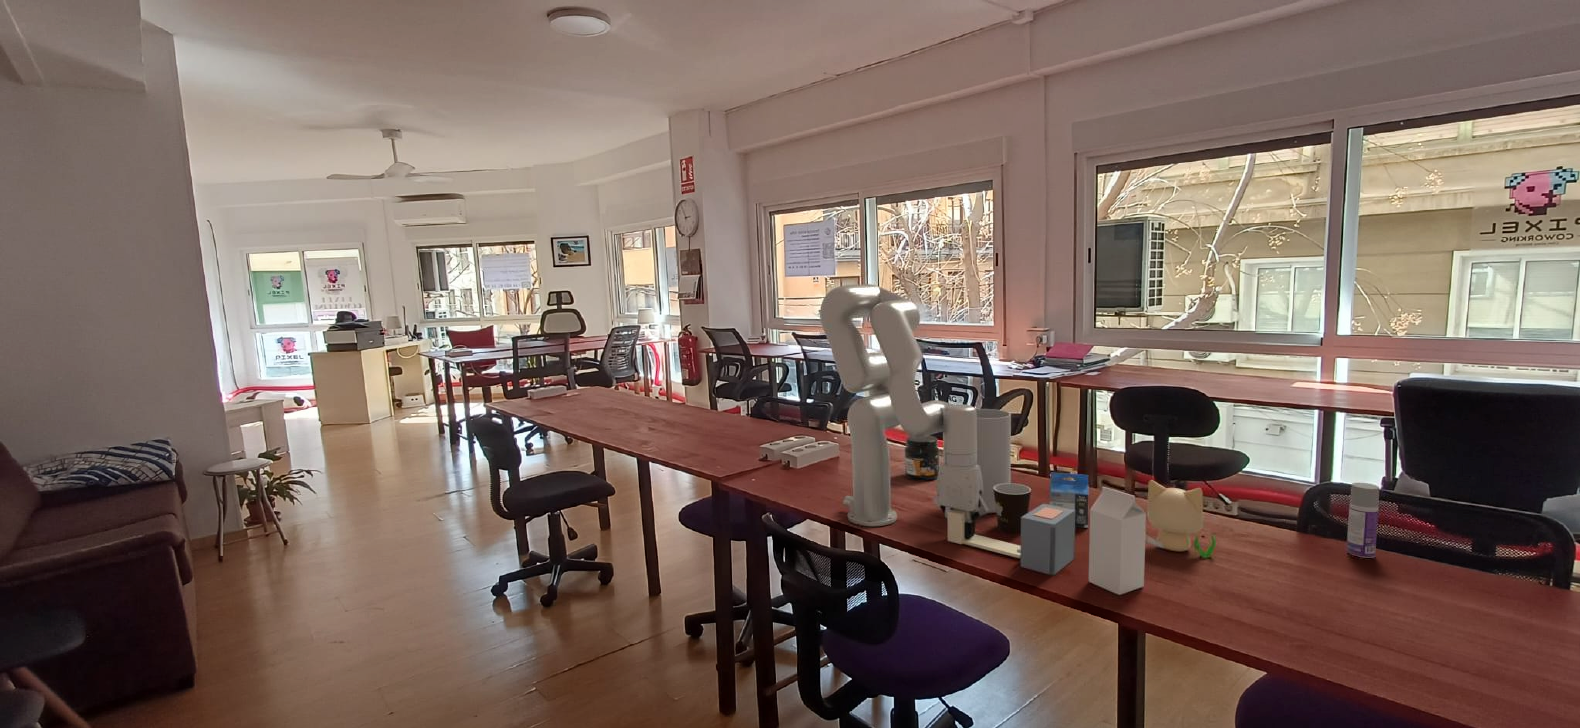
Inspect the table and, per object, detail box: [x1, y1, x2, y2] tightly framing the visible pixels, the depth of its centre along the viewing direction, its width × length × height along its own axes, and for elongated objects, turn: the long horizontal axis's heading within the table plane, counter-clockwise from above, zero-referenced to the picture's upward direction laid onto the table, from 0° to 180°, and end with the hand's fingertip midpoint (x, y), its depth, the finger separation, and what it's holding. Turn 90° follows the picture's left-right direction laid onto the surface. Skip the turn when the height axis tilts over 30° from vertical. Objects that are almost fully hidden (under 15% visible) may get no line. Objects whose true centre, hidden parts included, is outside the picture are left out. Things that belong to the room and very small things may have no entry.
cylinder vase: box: [975, 408, 1012, 514], centre depth 184 cm, size 12×12×25 cm
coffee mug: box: [993, 482, 1032, 535], centre depth 169 cm, size 12×9×10 cm
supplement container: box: [904, 435, 940, 481], centre depth 213 cm, size 10×10×12 cm
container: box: [1346, 482, 1380, 559], centre depth 146 cm, size 5×5×15 cm
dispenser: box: [1017, 503, 1076, 577], centre depth 148 cm, size 8×11×11 cm
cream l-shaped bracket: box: [947, 508, 1021, 559], centre depth 157 cm, size 17×6×7 cm, turn 47°
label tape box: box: [1048, 472, 1090, 529], centre depth 169 cm, size 9×4×12 cm, turn 68°
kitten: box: [1145, 479, 1217, 559], centre depth 152 cm, size 15×10×15 cm, turn 47°
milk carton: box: [1088, 486, 1147, 596], centre depth 136 cm, size 7×7×19 cm
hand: (961, 534), depth 162 cm, fingers closed on cream l-shaped bracket, 3 cm apart
